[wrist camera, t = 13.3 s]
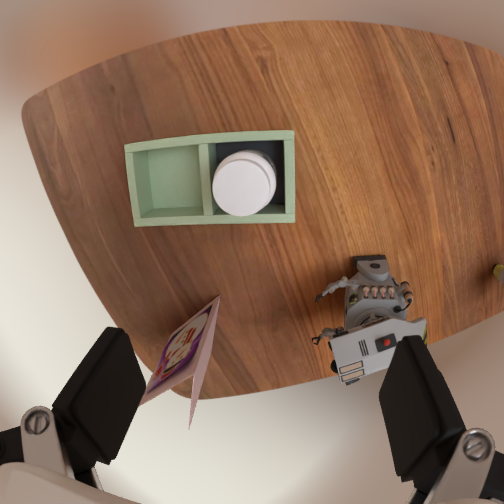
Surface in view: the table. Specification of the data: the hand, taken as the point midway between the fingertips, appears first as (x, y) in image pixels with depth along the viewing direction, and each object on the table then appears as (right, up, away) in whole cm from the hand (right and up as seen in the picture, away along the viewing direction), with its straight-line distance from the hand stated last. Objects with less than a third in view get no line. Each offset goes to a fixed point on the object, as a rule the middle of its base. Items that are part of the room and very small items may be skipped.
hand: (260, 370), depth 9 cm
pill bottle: (0, +13, +23) cm, 27 cm away
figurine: (+13, -1, +29) cm, 31 cm away
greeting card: (-7, -7, +33) cm, 35 cm away
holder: (-5, +13, +24) cm, 28 cm away
